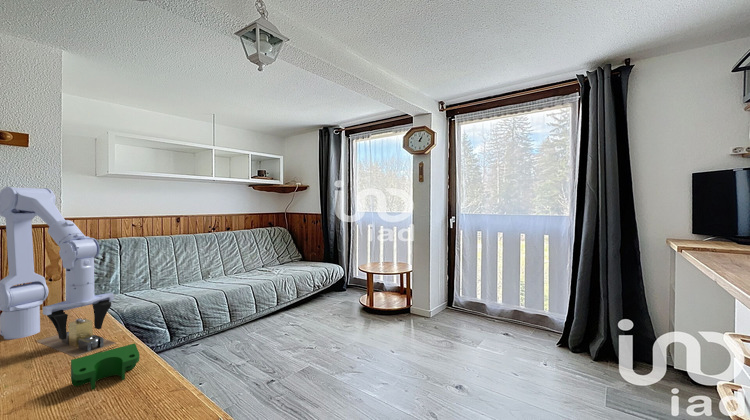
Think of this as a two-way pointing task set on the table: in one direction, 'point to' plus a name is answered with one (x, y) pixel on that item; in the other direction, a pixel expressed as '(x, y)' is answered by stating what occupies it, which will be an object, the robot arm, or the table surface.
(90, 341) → the steel ball guide
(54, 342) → the board
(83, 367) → the clamp
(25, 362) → the table surface
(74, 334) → the brushed brass block
